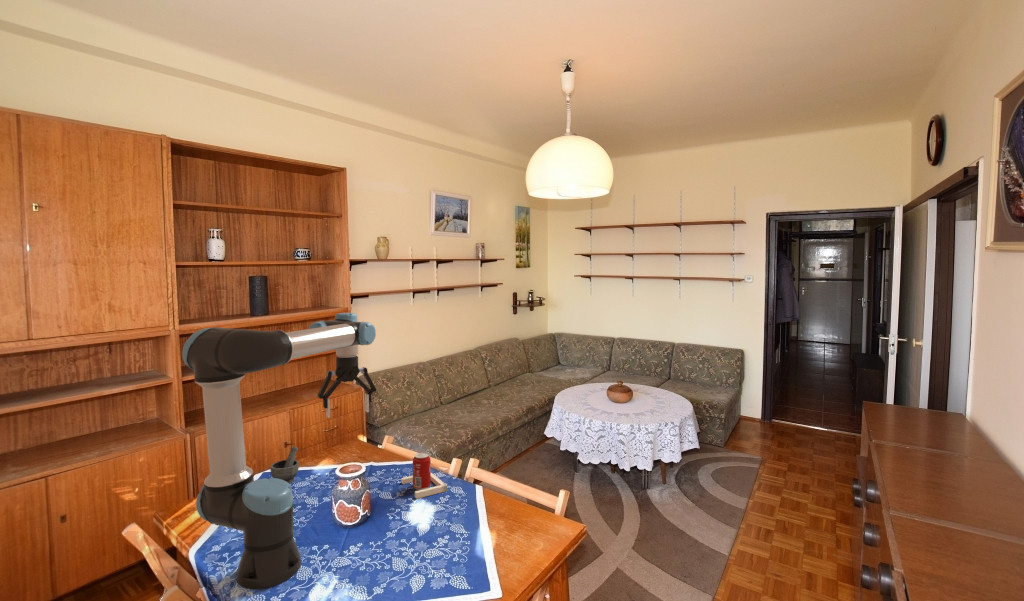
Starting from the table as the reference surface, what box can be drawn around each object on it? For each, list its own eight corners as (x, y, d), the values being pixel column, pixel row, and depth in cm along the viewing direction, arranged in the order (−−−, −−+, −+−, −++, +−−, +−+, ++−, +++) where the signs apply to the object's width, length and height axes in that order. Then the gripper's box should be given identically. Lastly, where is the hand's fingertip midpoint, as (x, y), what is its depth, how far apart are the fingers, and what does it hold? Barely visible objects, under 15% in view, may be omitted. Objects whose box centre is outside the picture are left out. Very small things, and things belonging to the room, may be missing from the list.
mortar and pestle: (286, 489, 175) (285, 456, 174) (264, 486, 177) (264, 453, 177) (307, 477, 185) (307, 446, 185) (287, 474, 188) (286, 443, 187)
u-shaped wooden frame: (447, 491, 173) (447, 485, 173) (416, 498, 167) (416, 493, 167) (430, 476, 185) (430, 471, 185) (401, 483, 179) (401, 478, 179)
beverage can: (434, 486, 177) (434, 454, 176) (422, 493, 171) (422, 459, 171) (421, 482, 180) (421, 450, 179) (409, 488, 175) (409, 456, 174)
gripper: (378, 351, 184) (379, 407, 185) (308, 357, 171) (309, 416, 172) (384, 354, 178) (385, 411, 179) (312, 360, 165) (313, 422, 166)
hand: (348, 414), depth 175 cm, fingers open, 13 cm apart
